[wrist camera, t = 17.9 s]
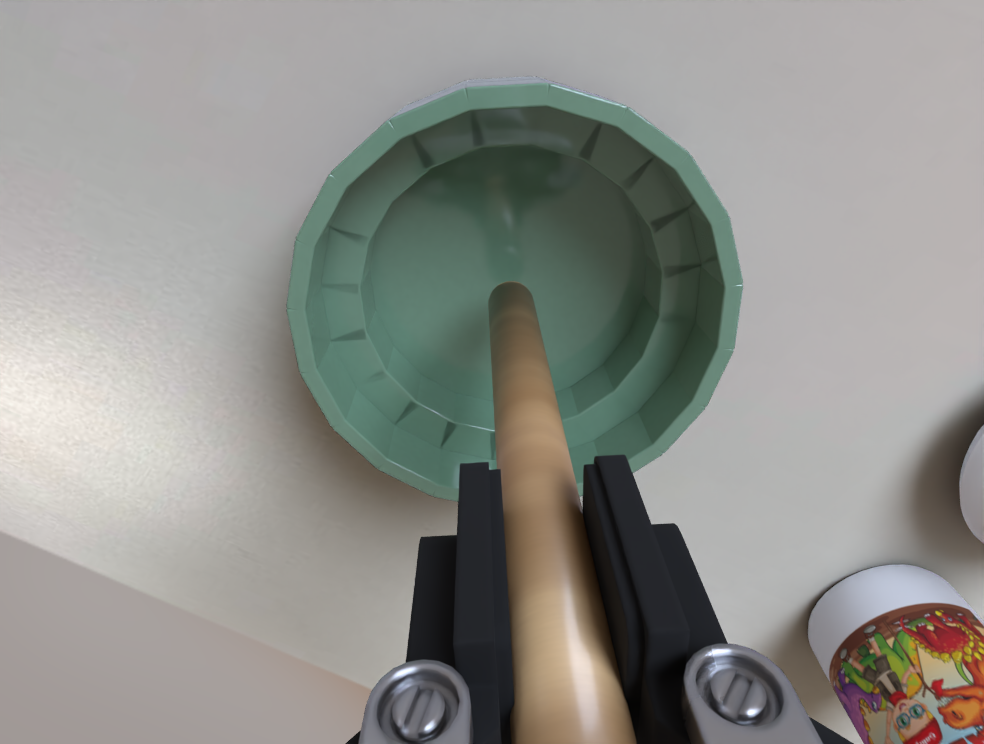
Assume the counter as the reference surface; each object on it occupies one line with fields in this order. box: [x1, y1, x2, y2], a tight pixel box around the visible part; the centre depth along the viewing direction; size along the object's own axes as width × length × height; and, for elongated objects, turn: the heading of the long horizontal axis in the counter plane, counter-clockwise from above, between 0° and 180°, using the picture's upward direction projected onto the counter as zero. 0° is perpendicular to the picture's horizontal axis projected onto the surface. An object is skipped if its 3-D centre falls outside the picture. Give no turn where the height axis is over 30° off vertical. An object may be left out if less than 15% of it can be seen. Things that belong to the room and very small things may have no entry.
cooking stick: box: [488, 281, 637, 744], centre depth 15 cm, size 2×2×18 cm
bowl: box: [286, 76, 743, 502], centre depth 23 cm, size 14×14×6 cm
